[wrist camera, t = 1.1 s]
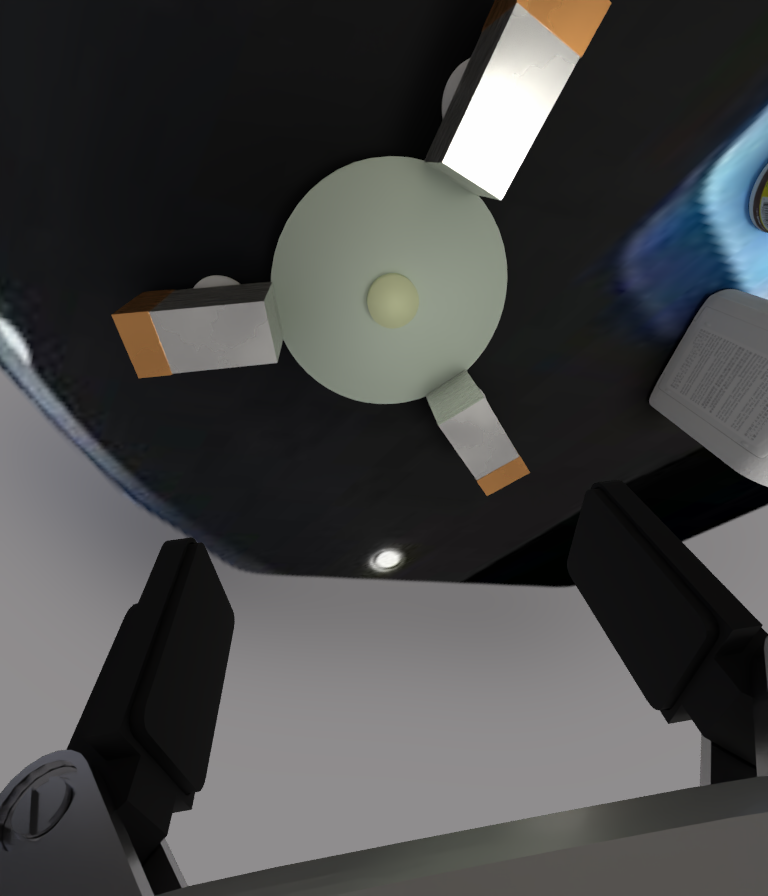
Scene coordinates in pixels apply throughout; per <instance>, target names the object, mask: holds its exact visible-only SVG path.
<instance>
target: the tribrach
mask: <svg viewBox="0 0 768 896" xmlns="http://www.w3.org/2000/svg"><path fill="white" fill-rule="evenodd" d="M469 60H470V58H469V59H467V60H466V61H464V62H463V63H461V64H460V65H459V66H458V67H457V68H456V69H455V70H454V72H453V73H452V74H451V76H450V78H449V80H448V81H447V84H446V86H445V89H444V92H443V97H442V119H443V118H444V116H445V113H446V111H447V109H448V107H449V105H450V102H451V100H452V98H453V96H454V93H455V91H456V89H457V87H458V85H459V82H460V80H461V78H462V76H463V73H464V71H465V69H466V67H467V64H468V62H469ZM271 281H273V286H274V291H275V295H276V300H277V305H278V310H279V315H280V320H281V325H282V330H283V335H284V337H283V340H284V342H285V344H286V346H287V347H288V349H289V351H290V352H291V354H292V355H293V357H294V358H295V359H296V361H297V362H298V363H299V364H300V365H301V367H302V368H303V369H304V370H305V371H306V372H307V373H308V374H309V375H310V376H312V377H313V378H314V379H315V380H316V381H317V382H319V383H320V384H322V385H323V386H325V387H326V388H328V389H330V390H332V391H334V392H336V393H338V394H340V395H342V396H345V397H348V398H350V399H353V400H357V401H362V402H366V403H375V404H395V403H402V402H408V401H412V400H416V399H420V398H422V397H425V395H426V394H427V393H429V392H431V391H432V390H434V389H435V388H437V387H438V386H440V385H442V384H443V383H445V382H446V381H448V380H450V379H451V378H453V377H454V376H456V375H457V374H459V373H461V372H462V371H464V370H465V369H466V371H467V370H468V369H469V368H470V366H471V365H472V364H473V363H474V362H475V361H476V360H477V359H478V357H479V356H480V355H481V354H482V352H483V351H484V350H485V348H486V346H487V345H488V343H489V341H490V340H491V338H492V336H493V334H494V332H495V330H496V327H497V325H498V323H499V320H500V317H501V314H502V311H503V306H504V302H505V297H506V288H507V261H506V255H505V249H504V245H503V241H502V238H501V235H500V232H499V229H498V227H497V225H496V223H495V220H494V218H493V216H492V214H491V213H490V211H489V210H488V208H487V207H486V205H485V203H484V202H483V200H482V199H481V198H480V197H479V196H478V195H475V194H473V193H471V192H470V191H468V190H467V189H465V188H463V187H462V186H460V185H459V184H457V183H456V182H454V181H452V180H451V179H449V178H448V177H446V176H444V175H443V174H441V173H440V172H438V171H436V170H435V169H433V168H432V167H430V166H429V165H427V164H425V163H424V160H420V159H415V158H411V157H398V156H386V157H376V158H368V159H365V160H361V161H357V162H353V163H351V164H349V165H346V166H344V167H342V168H340V169H337V170H336V171H334V172H333V173H331V174H330V175H328V176H326V177H325V178H323V179H322V180H321V181H320V182H319V183H317V184H316V185H315V186H314V187H313V188H312V189H311V190H309V192H308V193H307V194H306V195H305V196H304V197H303V199H302V200H301V201H300V202H299V203H298V205H297V206H296V208H295V209H294V211H293V213H292V214H291V216H290V217H289V219H288V220H287V222H286V224H285V226H284V229H283V231H282V233H281V235H280V237H279V240H278V244H277V247H276V250H275V254H274V258H273V264H272V271H271ZM237 284H240V283H238V282H237V281H235V280H234V279H232V278H229V277H226V276H221V275H213V276H208V277H206V278H203V279H202V280H200V281H199V282H198V283H197V284H196V285H195V286H194V288H204V287H215V286H226V285H237ZM479 390H480V391H481V393H482V394H483V396H484V397H485V395H484V393H483V392H482V390H481V389H479ZM485 399H486V397H485Z"/></svg>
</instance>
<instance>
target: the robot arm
mask: <svg viewBox="0 0 768 896" xmlns="http://www.w3.org/2000/svg"><path fill="white" fill-rule="evenodd" d="M567 568H568V572H569V574H570V576H571V578H572V580H573V581H574V583H575V584H576V586H577V588H578V589H579V591H580V593H581V594H582V596H583V597H584V599H585V600H586V602H587V604H588V605H589V607H590V609H591V610H592V612H593V614H594V615H595V617H596V618H597V620H598V622H599V623H600V625H601V626H602V628H603V630H604V631H605V633H606V635H607V636H608V638H609V640H610V641H611V643H612V644H613V646H614V648H615V649H616V651H617V652H618V654H619V655H620V657H621V659H622V660H623V662H624V664H625V665H626V667H627V669H628V670H629V672H630V674H631V675H632V676H633V678H634V680H635V682H636V683H637V685H638V686H639V688H640V690H641V691H642V693H643V695H644V696H645V698H646V700H647V701H648V702H649V703H650V705H651V706H652V707H653V708H655V709H656V710H660V711H661V713H662V715H663V716H664V718H665V719H666V721H667V722H668V724H670V723H675V722H681V721H686V720H693V722H694V723H695V725H696V726H697V728H698V729H699V731H700V732H701V736H702V737H701V767H700V787H693V788H687V789H682V790H676V791H671V792H666V793H660V794H656V795H650V796H644V797H639V798H634V799H628V800H623V801H617V802H612V803H607V804H601V805H596V806H591V807H585V808H581V809H575V810H569V811H564V812H559V813H553V814H548V815H543V816H538V817H533V818H527V819H522V820H517V821H511V822H506V823H501V824H496V825H490V826H485V827H480V828H475V829H470V830H464V831H459V832H454V833H449V834H444V835H439V836H434V837H429V838H423V839H418V840H412V841H408V842H402V843H397V844H392V845H387V846H382V847H377V848H372V849H367V850H361V851H356V852H351V853H346V854H342V855H336V856H331V857H327V858H321V859H316V860H311V861H306V862H300V863H295V864H290V865H285V866H280V867H275V868H271V869H266V870H262V871H257V872H252V873H248V874H243V875H239V876H234V877H230V878H225V879H220V880H216V881H211V882H207V883H202V884H197V885H192V886H187V883H186V881H185V879H184V877H183V875H182V873H181V871H180V869H179V867H178V865H177V863H176V861H175V858H174V856H173V854H172V852H171V850H170V848H169V846H168V844H167V842H166V840H165V837H166V836H167V834H168V829H169V824H170V820H171V816H172V813H175V812H180V811H186V810H191V809H192V805H193V800H194V794H195V792H199V791H201V789H202V787H203V785H204V783H205V778H206V773H207V767H208V763H209V757H210V752H211V747H212V741H213V736H214V731H215V726H216V720H217V715H218V709H219V704H220V699H221V693H222V688H223V683H224V678H225V672H226V667H227V662H228V656H229V651H230V645H231V641H232V635H233V630H234V613H233V610H232V608H231V605H230V603H229V601H228V598H227V596H226V594H225V591H224V589H223V587H222V584H221V582H220V580H219V578H218V575H217V573H216V571H215V569H214V566H213V564H212V562H211V559H210V557H209V555H208V552H207V550H206V548H205V546H204V544H203V543H197V542H196V541H195V539H194V538H184V539H178V540H170V541H166V542H165V543H164V544H163V546H162V548H161V550H160V553H159V555H158V557H157V560H156V562H155V564H154V567H153V569H152V572H151V574H150V577H149V579H148V581H147V584H146V586H145V588H144V591H143V593H142V595H141V598H140V600H139V602H138V603H137V604H134V605H133V606H132V607H131V608H130V609H129V610H128V612H127V613H126V615H125V617H124V620H123V622H122V624H121V626H120V629H119V631H118V633H117V636H116V638H115V640H114V643H113V645H112V647H111V649H110V652H109V654H108V656H107V658H106V661H105V663H104V665H103V668H102V670H101V672H100V674H99V677H98V679H97V682H96V684H95V686H94V688H93V691H92V693H91V695H90V697H89V700H88V702H87V704H86V706H85V709H84V711H83V714H82V716H81V718H80V720H79V723H78V725H77V727H76V729H75V732H74V734H73V736H72V738H71V741H70V743H69V745H68V748H67V750H61V751H55V752H53V753H50V754H48V755H45V756H42V757H41V758H39V759H38V760H36V761H35V762H33V763H31V764H30V765H28V766H27V767H25V769H23V770H22V771H21V772H20V773H19V774H18V775H17V776H15V777H14V778H13V779H12V780H11V781H10V783H9V784H8V785H7V786H6V787H5V788H4V790H3V791H2V792H1V793H0V896H768V634H767V633H766V632H765V631H764V630H763V629H762V628H761V627H762V624H761V623H760V622H759V621H758V620H757V619H756V618H755V617H754V616H753V615H752V614H751V613H750V612H749V611H748V610H747V609H746V608H745V607H744V606H743V605H742V603H740V601H739V600H738V599H737V598H736V597H735V596H734V595H733V594H732V593H731V592H730V591H729V590H728V589H727V588H726V587H725V586H724V585H723V584H722V583H721V582H720V581H719V580H718V579H717V578H716V577H715V576H714V575H713V574H712V573H711V572H710V571H709V570H708V569H707V568H706V566H705V565H704V564H703V563H702V562H701V561H700V560H699V559H698V558H697V557H696V556H695V555H694V554H693V553H692V552H691V551H690V550H689V549H688V548H687V547H686V546H685V545H684V544H683V543H682V542H681V541H680V540H679V539H678V538H677V537H676V536H675V535H674V534H673V533H672V532H671V531H670V529H669V528H668V527H667V526H666V525H665V524H664V523H663V522H662V521H661V520H660V519H659V518H658V517H657V516H656V515H655V514H654V513H653V512H652V511H651V510H650V509H649V508H648V507H647V506H646V505H645V504H644V503H643V502H642V501H641V500H640V499H639V498H638V497H637V496H636V495H635V494H634V492H633V491H632V490H631V489H630V488H629V487H628V486H627V485H626V484H625V483H623V482H622V481H620V480H613V481H605V482H598V483H594V484H593V485H592V487H591V489H590V490H587V491H586V494H585V497H584V501H583V505H582V508H581V512H580V516H579V519H578V523H577V527H576V531H575V534H574V538H573V542H572V546H571V549H570V553H569V557H568V560H567Z"/></svg>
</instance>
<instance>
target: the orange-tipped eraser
mask: <svg viewBox="0 0 768 896" xmlns="http://www.w3.org/2000/svg"><path fill="white" fill-rule="evenodd" d="M112 317H113V320H114V322H115V324H116V327H117V329H118V331H119V334H120V336H121V338H122V341H123V343H124V345H125V347H126V350H127V352H128V354H129V357H130V359H131V361H132V364H133V366H134V368H135V371H136V373H137V375H138V378H146V377H156V376H166V375H172V374H173V373H183V372H193V371H202V370H212V369H222V368H232V367H241V366H251V365H261V364H270V363H277V362H278V358H279V354H280V350H281V346H282V341H283V337H284V335H283V330H282V325H281V320H280V315H279V310H278V305H277V300H276V295H275V291H274V286H273V281H270V282H259V283H248V284H237V285H226V286H215V287H204V288H193V289H182V290H174V289H170V290H159V291H148V292H142V293H141V294H140V295H138V296H137V297H135V298H134V299H133V300H131V301H130V302H128V303H127V304H126V305H124V306H123V307H121V308H120V309H119V310H117V311H116V312H114V313H113V314H112Z"/></svg>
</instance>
